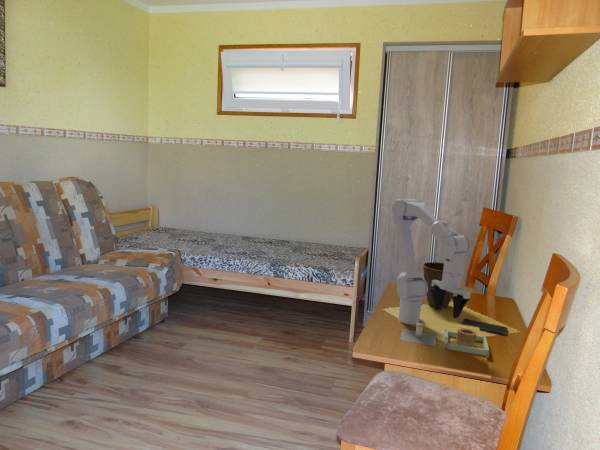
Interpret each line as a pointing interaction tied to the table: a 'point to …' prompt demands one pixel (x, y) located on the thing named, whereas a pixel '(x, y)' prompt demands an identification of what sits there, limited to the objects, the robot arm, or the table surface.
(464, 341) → the wood ring
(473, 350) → the sage tray
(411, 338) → the stake board
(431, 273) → the plant pot
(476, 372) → the table surface
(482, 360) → the table surface
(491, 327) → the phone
